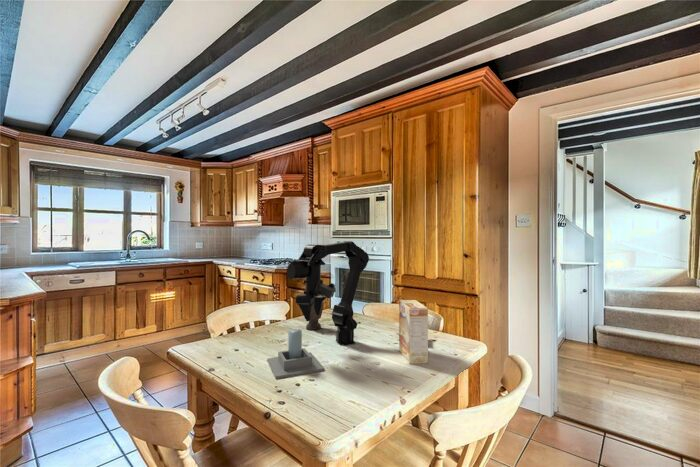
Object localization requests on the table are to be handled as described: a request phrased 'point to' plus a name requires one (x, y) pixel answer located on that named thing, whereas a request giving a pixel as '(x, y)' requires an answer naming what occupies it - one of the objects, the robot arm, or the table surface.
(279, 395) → the table surface
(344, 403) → the table surface
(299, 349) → the pale blue rounded cylinder
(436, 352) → the table surface
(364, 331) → the table surface
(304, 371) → the grey square socket base
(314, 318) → the mortar and pestle
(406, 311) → the coffeecake box
